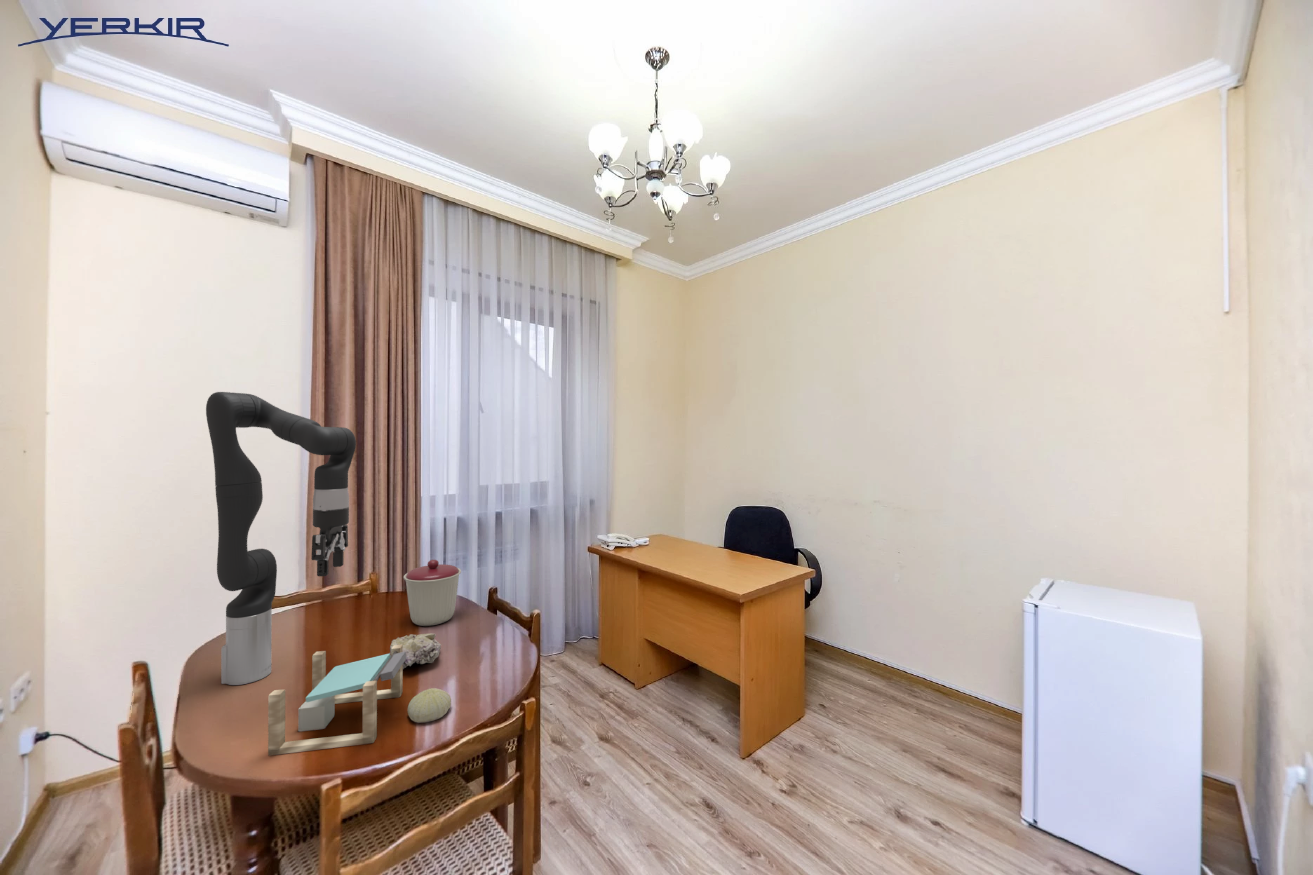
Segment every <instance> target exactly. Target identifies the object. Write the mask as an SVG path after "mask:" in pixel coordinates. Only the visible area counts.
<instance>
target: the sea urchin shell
mask: <svg viewBox="0 0 1313 875" xmlns="http://www.w3.org/2000/svg"><path fill="white" fill-rule="evenodd" d="M451 706H452V698H451V695H450V694H449V692H448V691H445V690H443V689H441V688H437V687H432V688H427V689H424V690H423V691H420V692H418V693H417V694H416V695H415V696H414V697H413V696H412V698H411V700H410V701H409V703H408V706H407V711H406V712H407V715H408V717H409V718H410V720H411V721H412V722H414V723H421V724H422V723H428V722H433V721H435V720H439V719H441V718H442V717H444V715H445V714H447V712H448V711H449V709H450V708H451Z"/></svg>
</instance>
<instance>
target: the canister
mask: <svg viewBox="0 0 1313 875" xmlns="http://www.w3.org/2000/svg"><path fill="white" fill-rule="evenodd" d="M461 573H462V569H461V568H459V567H456V566H455V565H451V564H444V563H443V564H439V561H438V560H437V559H430V560H429V561H428V562H427V564H426V565H424V566H420V567H416V568H413V569H411V570H410V571H408V572H406V573H405V574H404V575H403V580H404V581H405V584H406V594H407V602H408V610H409V615H410V619H411V621H412V623H413V624H415V625H417V626H423V627H428V626H436V625H439V624H443V623H446V622H448V621H450V619H452V618H453V616H454V614H455V609H456V602H457V595H458V586H459V580H460V579H459V578H460V574H461Z"/></svg>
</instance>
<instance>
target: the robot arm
mask: <svg viewBox="0 0 1313 875" xmlns="http://www.w3.org/2000/svg"><path fill="white" fill-rule="evenodd" d="M207 398H208V399H207V400H206V405H205V406H206V407H205V416H206V423H207V426H208V433H209V437H210V442H211V443H210V444H211V448H212V455H213V465H214V466H213V467H214V482H215V483H214V484H215V485H214V486H215V488H214V489H215V499H216V507H217V526H218V529H217V530H218V531H217V532H218V536H217V537H218V541H217V542H218V543H217V559H216V574H217V575H216V576H217V579H218V582H219V584H220V585H221V587H222V588H223V589H224V590H226V591H228V592H237V591H240V590H241V591H240V593H238V595H237V596H235V598H233V600H231V601H230V602H229V603H228V604H227V605H226V607H225V644H224V645H223V646H221V648H220V649H221V651H220V652H221V653H220V654H221V655H220V656H221V659H220V660H221V662H220V663H221V669H220V670H221V672H220V673H221V676H220V677H221V678H220V680H221V681H220V683H221V685H224V684H226V685H230V686H241V685H246V684H251V683H254V682H257V681H260V680H261V679H264V678H266V677H267V676H269V675H271V673H272V635H273V634H272V627H273V626H272V622H273V620H272V616H273V614H272V611H273V610H272V609H273V608H272V607H273V606H272V604H273V601H274V599H275V596H276V591H277V590H276V588H277V576H278V575H277V573H278V565H277V560H276V557H275V555H274V554H273V552H272V551H270V550H269V549H265V548H256V549H251V550H248V537H249V532H250V529H251V527H252V524H253V523H254V520H255V518H256V517H257V514H258V513H259V510H261V509H260V508H261V506H262V504H263V498H264V496H263V482H262V475H261V473H260V472H259V470H258V469H257V467H256V465H255V464H254V463H253V462H252V461H251V460H250V458H249V457H248V456H247V455H246V453H245V452H244V451H243V450H242V448H241V446H240V443H239V440H238V434H237V429H239V428H240V429H241V428H243V429H245V428H246V429H247V428H263V429H269V430H271V432H272V434H274V435H275V436H276V437H277V438H279V439H281V440H283V441H286V442H288V443H292V444H295V445H297V446H300V448H302V449H303V450H305V451H307V452H308V453H310V454H313V455H316V456H329V457H328V458H329V459H328V461H327V462H326V463H324V464H321V465H319V466H317V467H315V470H314V476H313V477H314V481H313V482H314V483H313V484H314V486H313V488H314V489H313V490H314V491H313V498H312V526H313V528H318V529H319V534H313V535H312V537H311V538H312V539H311V561H315V562H316V576H317V577H326V576H328V575H329V569H330V568H329V558H330V555H331V553H332V566H333V567H334V568H339V567H342V566H344V558H345V556H344V552H345V551H346V548H348V547H349V533H348V532H349V531H348V530H349V526H348V525H349V522H350V494H349V471H350V468H351V465H352V461H353V458H354V454H355V451H356V447H357V440H356V437H355V433H353V431H352V430H351V429H349V428H348V427H340V426H337V427H336V426H322V425H321V424H320V423H318V421H315V420H313V419H311V418H307V417H304V416H301V415H298V414H295V413H291V412H288V411H286V410H284V409H281V408H279V407H277V406H275V405H273V404H272V403H270V402H268V401H266V400H265V399H263V398H261V397H259V396H257V395H255V394H251V393H244V392H243V393H242V392H230V391H216V392H213V393H212V394H210V396H209V397H207Z"/></svg>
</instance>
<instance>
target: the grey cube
mask: <svg viewBox="0 0 1313 875" xmlns="http://www.w3.org/2000/svg"><path fill="white" fill-rule="evenodd" d="M335 706H336V705H335V695H334V696H330V697H326V698H322V699H319V700H315V701H311V702H307V703H306V700H305V701H304V703H302V704H301V706H299V708H298V713H297V714H298V723H297V725H298V726H297V727H298V728H297V729H298V730H297V731H298V732H307V731H316V730H323V729H324V730H325V729H326V728H327V726H328V725H329V724H330V722H331V721H332V720H333V718H334V717H335V708H336V707H335Z"/></svg>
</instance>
